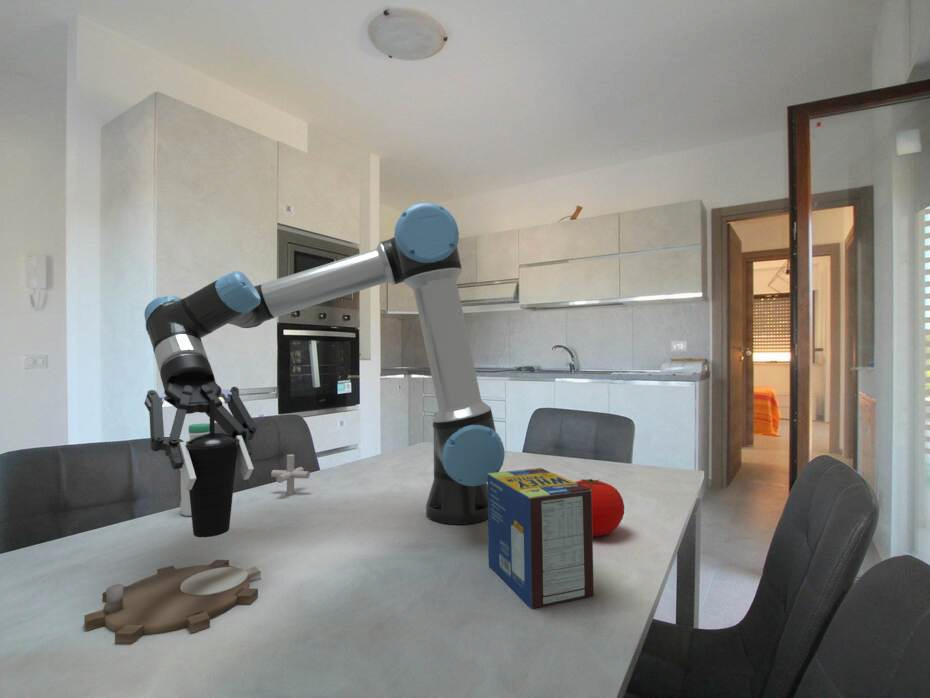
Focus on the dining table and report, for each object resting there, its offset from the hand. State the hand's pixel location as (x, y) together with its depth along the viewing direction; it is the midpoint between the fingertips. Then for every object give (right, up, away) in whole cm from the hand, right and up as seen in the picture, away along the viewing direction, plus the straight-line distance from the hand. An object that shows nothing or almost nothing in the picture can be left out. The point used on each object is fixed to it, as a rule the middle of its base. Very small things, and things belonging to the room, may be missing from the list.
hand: (220, 479), depth 71 cm
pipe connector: (-9, -19, +54) cm, 58 cm away
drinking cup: (-3, -9, +2) cm, 9 cm away
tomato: (+61, -17, +25) cm, 68 cm away
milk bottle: (-25, -19, +40) cm, 51 cm away
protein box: (+47, -17, +4) cm, 50 cm away
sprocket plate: (-5, -17, -1) cm, 18 cm away
